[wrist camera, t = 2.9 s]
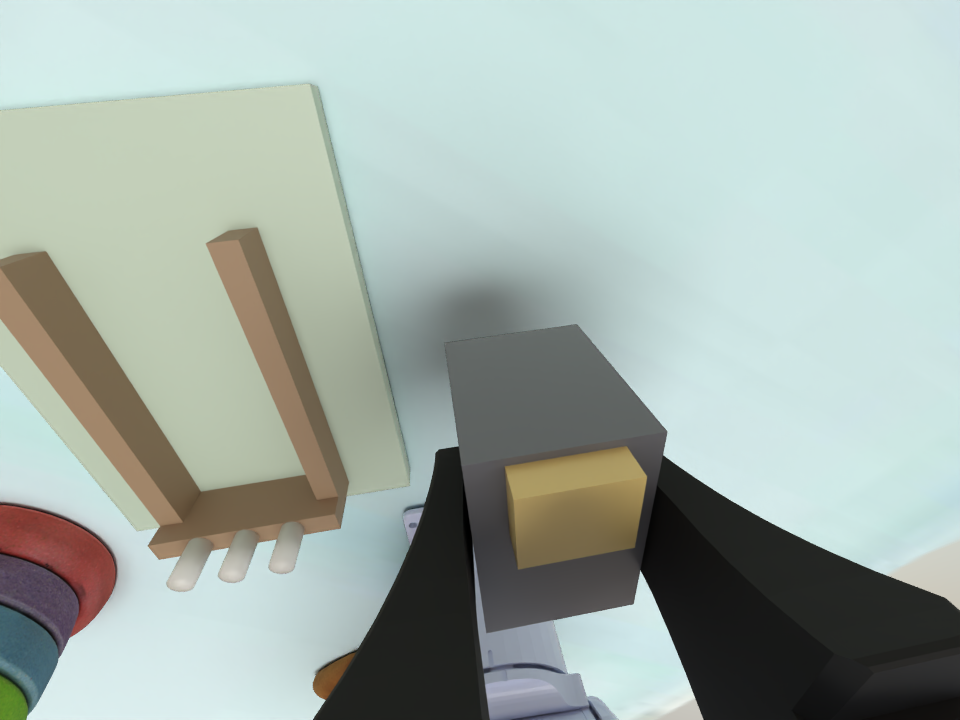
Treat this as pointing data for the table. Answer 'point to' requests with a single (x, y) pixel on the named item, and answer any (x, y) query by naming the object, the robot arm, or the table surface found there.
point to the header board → (196, 317)
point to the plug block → (552, 474)
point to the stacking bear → (44, 599)
